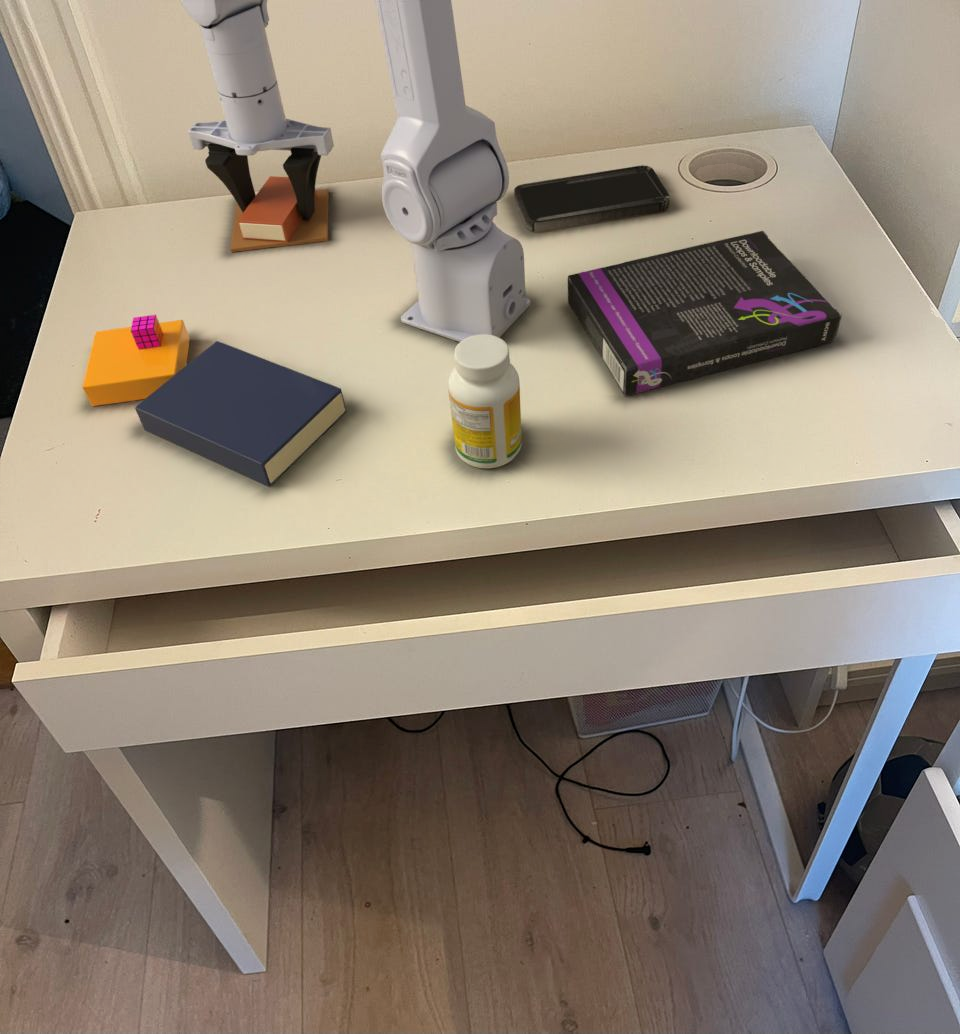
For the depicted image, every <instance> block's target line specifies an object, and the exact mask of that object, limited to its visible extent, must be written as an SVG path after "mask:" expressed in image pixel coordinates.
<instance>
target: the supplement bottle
mask: <svg viewBox="0 0 960 1034" xmlns="http://www.w3.org/2000/svg"><path fill="white" fill-rule="evenodd" d="M453 358H454V368H453V369H452V370H451V372H450V374H449V377H448V382H447V388H448V397H449V406H450V414H451V422H452V432H453V441H454V448H455V452H456V453H457V455H458V457H459V458H460V459H461V460H462V461H463V462H464V463H465V464H467V465H469V466H471V467H474V468H478V469H494V468H500V467H502V466H505V465H506V464H508V463H510V462H512V461H513V460H514V459H515V458H516V456H517V455H518V454H519V452H520V450H521V448H522V443H523V434H522V433H523V432H522V414H521V413H522V411H521V387H520V386H521V385H520V376H519V372H518V371H517V369H516V367H515V366H514V365H513V364H512V363H511V358H510V349H509V346H508V344H507V343H506V341H505V340H504V339H502V338H501V337H496V336H493V335H487V334H480V335H473V336H470V337H468V338H466V339H464V340H462V341H461V342H458V344H456V346H455V348H454V352H453Z"/></svg>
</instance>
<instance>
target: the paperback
mask: <svg viewBox="0 0 960 1034" xmlns="http://www.w3.org/2000/svg"><path fill="white" fill-rule="evenodd" d="M316 190H317V189H315V199H316V198H317V195H316ZM255 195H256V196H255V198H254V199H253V200H252V202H251V203H250V204H249V206H248V207H247V208H246V210H245V211H244V213H243V214H242V215H241V217H240V218H239V219H238V224H239V227H240V230H241V234H242V237H243V239H246V240H260V241H275V242H288V241H289V239H290V238H291V236H292V235H293V233H294V232H295V230H296V229H297V227H298V225H299V224H300V222H301V221H302V218H301V215H300V213H299V208H298V204H297V199H296V195H295V192H294V189H293V186H292V184H291V182H290V179H289V177H288V176H275V175H274V176H271V175H270V176H268V178H267V180H265V182H264V184H263V185H262V187H260V189H259V191H258V192H257V194H255Z"/></svg>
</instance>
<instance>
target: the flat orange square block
mask: <svg viewBox="0 0 960 1034" xmlns="http://www.w3.org/2000/svg"><path fill="white" fill-rule="evenodd" d="M190 339H191V338H190V335H189V333H188V330H187V327H186V325H185V321H184V319H177V320H170V321H164V322H163V321H162V322H160V321H159V319H158V316H157V314H151V315H150V314H149V315H142V316H135V317H133V318H132V322H131V326H126V327H119V328H113V329H105V330H98V331H95V332H94V337H93V340H92V344H91V350H90V353H89V358H88V362H87V366H86V369H85V374H84V379H83V383H82V390H83V392H84V394H85V396H86V398H87V400H88V402H89V403H90V406H91V407H96V406H104V405H111V404H118V403H126V402H132V401H139V400H145V399H146V398H147V397H148V396H149V395H151V394H152V393H153V392H154V391H156V390H157V389H158V388H159V387H161V386H162V385H163V384H164V383H165V382H167V381H168V380H169V379H170V378H172V377H173V376H174V375H175V374H177V373H178V372H179V371H180V370H181V369H183V368H184V367H185V366H186V365H188V363H187V362H188V355H189V348H190V341H191V340H190Z"/></svg>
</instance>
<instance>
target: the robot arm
mask: <svg viewBox="0 0 960 1034" xmlns="http://www.w3.org/2000/svg"><path fill="white" fill-rule="evenodd" d="M180 3H181V4H182V7H183V8H184V10H185V11H186V12H187V14H188V15H189V16H190V18H191V19H192V20H193V21H194V22H195V23H197V24H198V26H199V29H200V33H201V37H202V40H203V44H204V47H205V50H206V55H207V58H208V61H209V65H210V69H211V72H212V76H213V79H214V83H215V87H216V90H217V91H216V92H217V94H218V97H219V101H220V105H221V109H222V113H223V117H224V119H223V120H217V121H216V120H215V121H204V122H201V121H197V122H194V124H193V125H192V126H191V127H190V128H189V129H188V131H187V133H188V136H189V140H190V142H191V146H192V149H193V150H196V151H197V150H198V151H200V150H204V149H205V148H206V147H207V149H208V152H207V153H208V156H206V158H205V160H204V162H205V166H206V167H207V169H208V170H209V171H210V172H212V173H213V174H214V175H215V176H216V177H217V178H218V180H220V181H221V182H222V183H223V185H224V186H225V188H227V190H228V191H229V193H230V194H231V196H232V197H233V199H234V200H235V202H236V204H237V203H238V205H239V207H240V209H241V210H242V212H243V213H244V211H245V210H246V208H247V207H248V206H249V204H250V203H251V202H252V200H253V199H254V198H255V196H256V195H257V194H256V191H255V188H254V187H255V186H254V184H253V180H252V177H251V171H250V166H249V158H248V156H254V155H256V154H257V153H258V152H265V151H290V155H288V157H287V158H286V160H285V162H283V163H282V168H283V170H284V172H285V174H286V176H287V177H289V179H290V182H291V184H292V186H293V189H294V192H295V195H296V199H297V204H298V208H299V213H300V215H301V218H302V220H307V221H308V220H309V219H310V218H311V216H312V215H313V213H314V212H315V190H316V182H317V175H318V170H319V166H320V162H321V158H322V156H323V157H324V156H329V154H330V153H331V152H332V150H333V149H334V147H335V144H334V139H333V135H332V134H333V133H332V129H331V127H327V126H326V127H325V126H318V125H312V124H309V123H305V122H302V121H297V120H294V119H289V118H286V113H285V110H284V105H283V100H282V96H281V91H280V87H279V83H278V79H277V75H276V74H277V73H276V69H275V65H274V62H273V61H274V60H273V57H272V53H271V50H270V43H269V39H268V35H267V31H266V28H267V27H268V26H269V22H270V17H269V12H268V0H180ZM375 5H376V10H377V16H378V21H379V22H378V23H379V26H380V32H381V37H382V42H383V43H382V44H383V48H384V52H385V58H386V64H387V68H388V69H387V70H388V75H389V79H390V85H391V90H392V96H393V100H394V105H395V112H396V117H397V119H396V121H395V123H394V125H393V128H392V129H391V132H390V134H389V135H388V138H387V140H386V142H385V144H384V146H383V148H382V151H381V154H380V160H381V165H382V169H383V170H382V171H383V179H382V186H381V201H382V206H383V210H384V213H385V215H386V217H387V219H388V221H389V223H390V225H391V226H392V227H393V229H394V230H395V231H396V232H397V233H398V234H399V236H400V237H402V238H403V239H405V240H406V241H408V242H409V243H410V250H411V257H412V261H413V262H412V263H413V272H414V277H415V284H416V285H415V286H416V291H417V297H418V298H417V299H418V300H417V301H416V302H415V303H414V304H413V305H412V306H411V307H410V308H408V309H407V311H405V312H404V313H403V314H402V315H401V316H400V321H401V323H403V324H405V325H408V326H411V327H414V328H417V329H420V330H423V331H426V332H429V333H432V334H435V335H438V336H441V337H444V338H447V339H450V340H452V341H456V342H458V343H460V342H461V341H462V340H464V339H466V338H468V337H470V336H473V335H480V334H487V335H493V336H496V337H499V338H501V337H502V335H503V334H504V333H505V332H506V331H507V330H508V329H509V328H510V327H511V326H512V325H513V324H514V323H515V322H516V321H517V320H518V319H519V318H520V317H521V315H522V314H523V313H524V312H525V311H526V310H527V309H528V308H529V307H530V306H531V299H530V298H528V297H526V295H527V294H526V274H525V273H526V271H525V254H524V248H523V245H522V243H521V242H520V240H518V239H517V238H515V237H513V236H511V235H509V234H508V233H506V232H504V231H503V230H501V228H499V227H498V226H497V225H496V223H495V222H494V221H493V220H494V219H495V217H496V216H498V203H497V202H499V201H500V200H502V199H503V198H504V197H505V195H506V194H507V193H508V189H509V186H510V185H509V184H510V173H509V167H508V164H507V161H506V158H505V156H504V153H503V152H502V149H501V146H500V144H499V141H498V137H497V132H496V131H497V130H496V124H495V121H493V119H491V118H490V117H488V116H487V115H485V114H484V113H482V112H481V111H479V110H478V109H475V108H473V107H471V106H468V105H467V104H466V98H465V90H464V84H463V75H462V69H461V62H460V53H459V47H458V41H457V32H456V26H455V25H456V24H455V18H454V10H453V2H452V0H375Z"/></svg>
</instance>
